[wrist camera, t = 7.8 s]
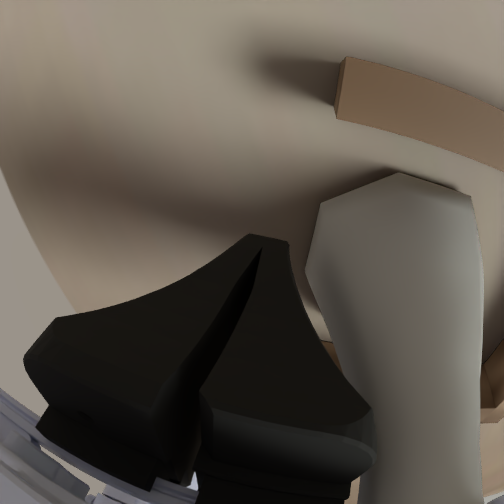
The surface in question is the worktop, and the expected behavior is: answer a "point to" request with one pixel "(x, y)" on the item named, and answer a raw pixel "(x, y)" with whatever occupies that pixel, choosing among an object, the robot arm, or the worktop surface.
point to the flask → (407, 331)
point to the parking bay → (433, 132)
